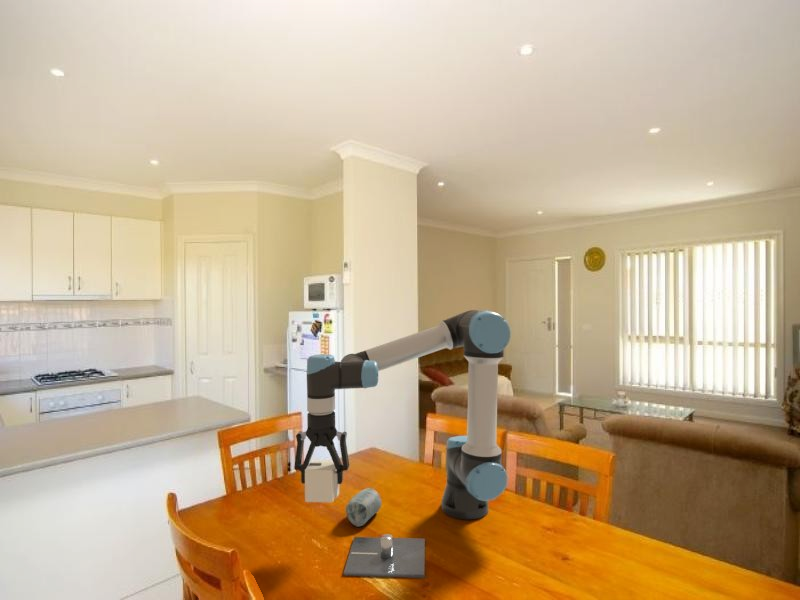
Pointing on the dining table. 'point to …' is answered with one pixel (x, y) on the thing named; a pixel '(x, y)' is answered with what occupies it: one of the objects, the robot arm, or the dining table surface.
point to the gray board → (386, 557)
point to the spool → (363, 506)
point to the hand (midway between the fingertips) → (322, 494)
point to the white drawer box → (320, 481)
